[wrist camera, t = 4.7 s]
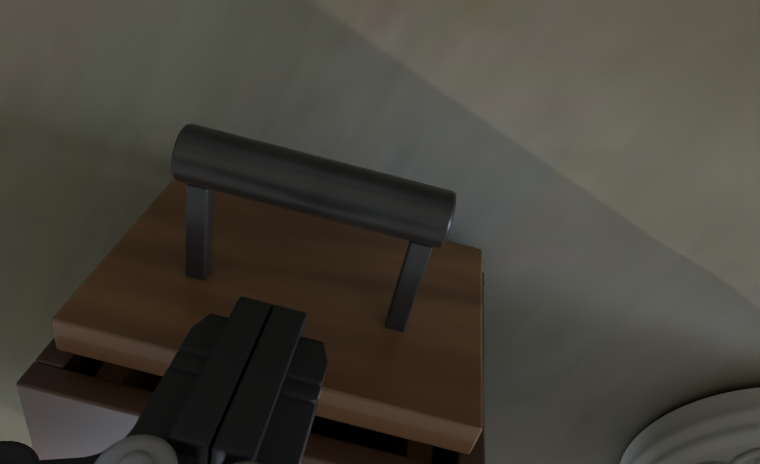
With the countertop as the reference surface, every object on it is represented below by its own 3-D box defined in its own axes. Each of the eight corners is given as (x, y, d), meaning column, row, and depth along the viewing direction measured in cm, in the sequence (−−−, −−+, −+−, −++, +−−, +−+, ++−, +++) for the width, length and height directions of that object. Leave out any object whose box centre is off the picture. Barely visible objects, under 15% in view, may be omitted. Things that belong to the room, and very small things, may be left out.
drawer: (179, 43, 18) (18, 159, 12) (529, 133, 18) (555, 297, 12) (179, 397, 29) (95, 557, 22) (399, 453, 29) (376, 628, 23)
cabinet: (174, 192, 23) (14, 383, 15) (484, 271, 23) (485, 503, 15) (176, 412, 31) (75, 607, 23) (400, 470, 31) (373, 682, 23)
